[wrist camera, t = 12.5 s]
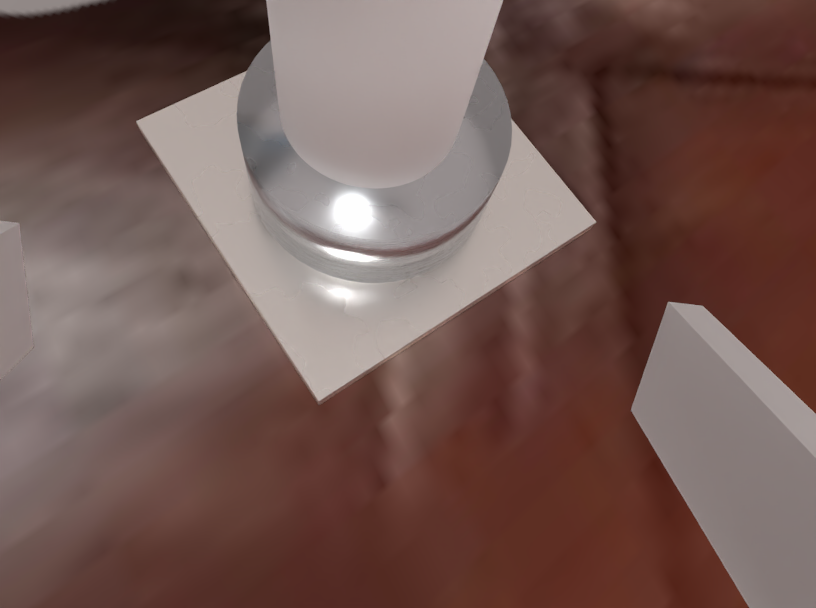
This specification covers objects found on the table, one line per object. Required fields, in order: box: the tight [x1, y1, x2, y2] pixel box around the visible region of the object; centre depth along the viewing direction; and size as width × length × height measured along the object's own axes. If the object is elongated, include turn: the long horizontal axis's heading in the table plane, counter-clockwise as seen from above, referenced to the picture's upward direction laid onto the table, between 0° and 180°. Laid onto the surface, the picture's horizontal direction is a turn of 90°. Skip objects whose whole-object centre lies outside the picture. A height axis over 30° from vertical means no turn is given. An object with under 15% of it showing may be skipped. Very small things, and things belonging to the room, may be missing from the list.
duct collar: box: [136, 40, 596, 405], centre depth 25 cm, size 14×14×5 cm
